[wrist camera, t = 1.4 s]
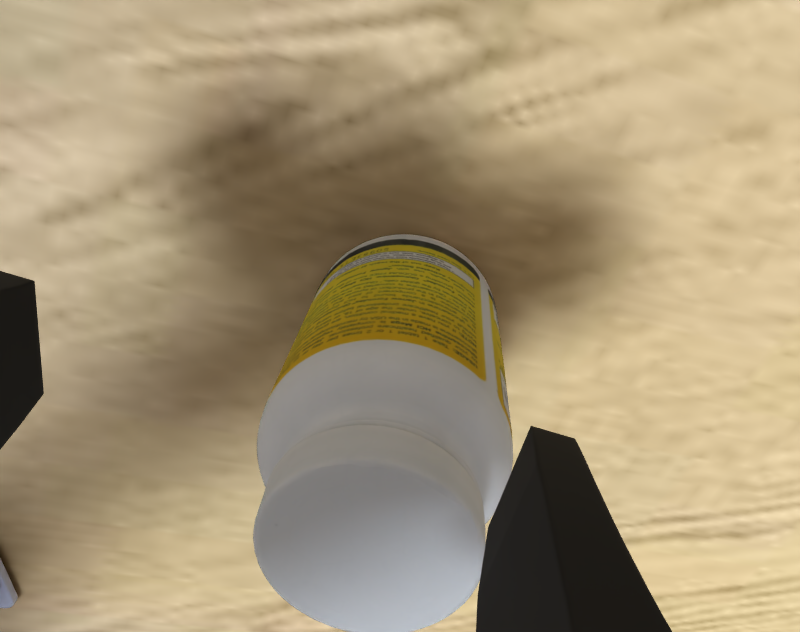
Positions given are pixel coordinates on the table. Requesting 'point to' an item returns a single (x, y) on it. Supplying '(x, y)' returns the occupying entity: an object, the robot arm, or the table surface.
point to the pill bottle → (386, 441)
